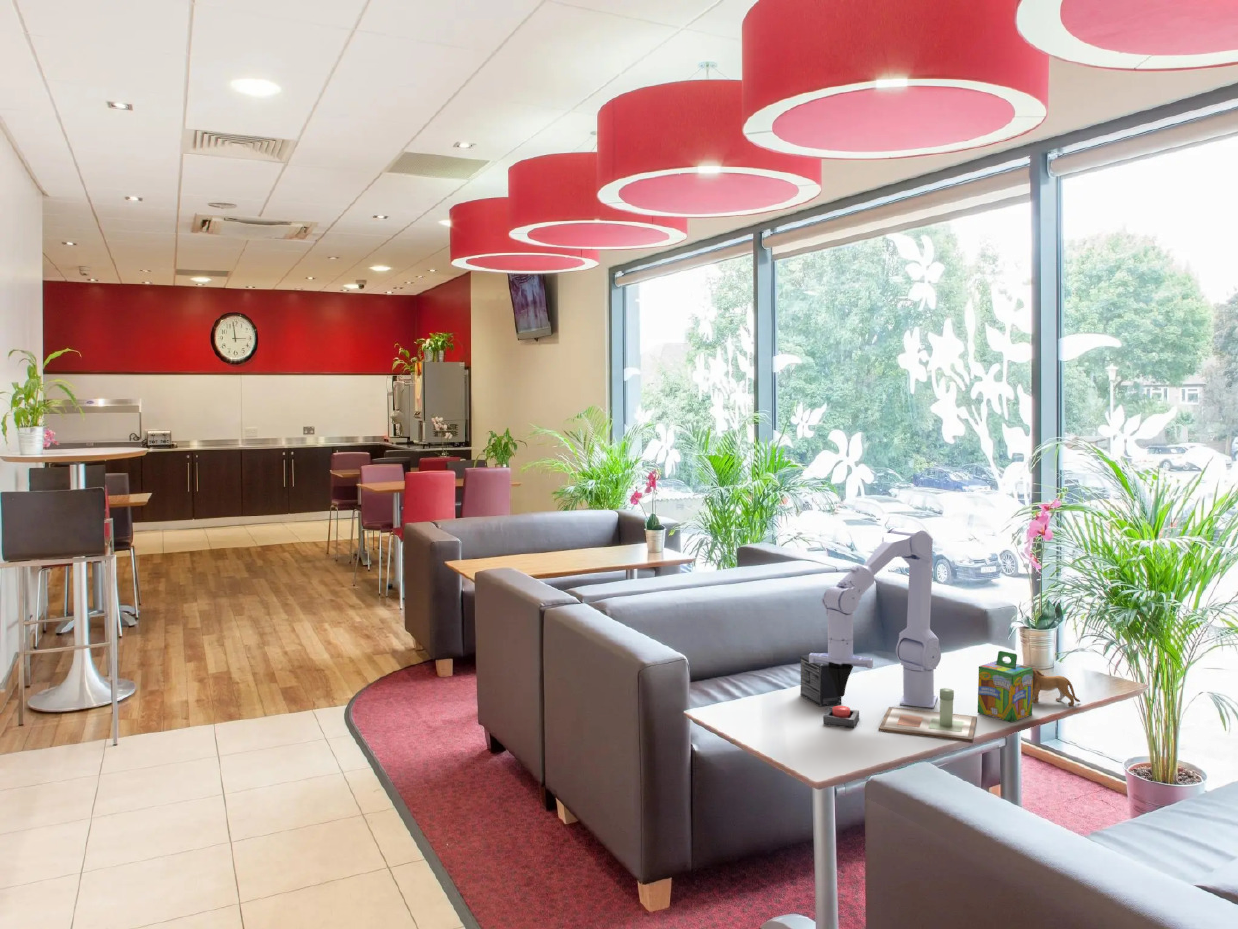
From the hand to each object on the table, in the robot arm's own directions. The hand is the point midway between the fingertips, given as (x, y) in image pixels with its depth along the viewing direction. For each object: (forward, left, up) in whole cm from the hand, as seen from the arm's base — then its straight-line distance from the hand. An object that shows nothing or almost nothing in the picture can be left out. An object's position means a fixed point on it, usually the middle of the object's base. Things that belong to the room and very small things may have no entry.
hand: (840, 695), depth 214 cm
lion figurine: (-32, +44, -7) cm, 55 cm away
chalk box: (-19, +35, -7) cm, 40 cm away
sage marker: (-4, +23, -6) cm, 24 cm away
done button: (0, 0, -5) cm, 5 cm away
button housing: (0, 0, -6) cm, 6 cm away
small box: (-15, -8, -7) cm, 18 cm away
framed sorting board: (-5, +19, -6) cm, 21 cm away
